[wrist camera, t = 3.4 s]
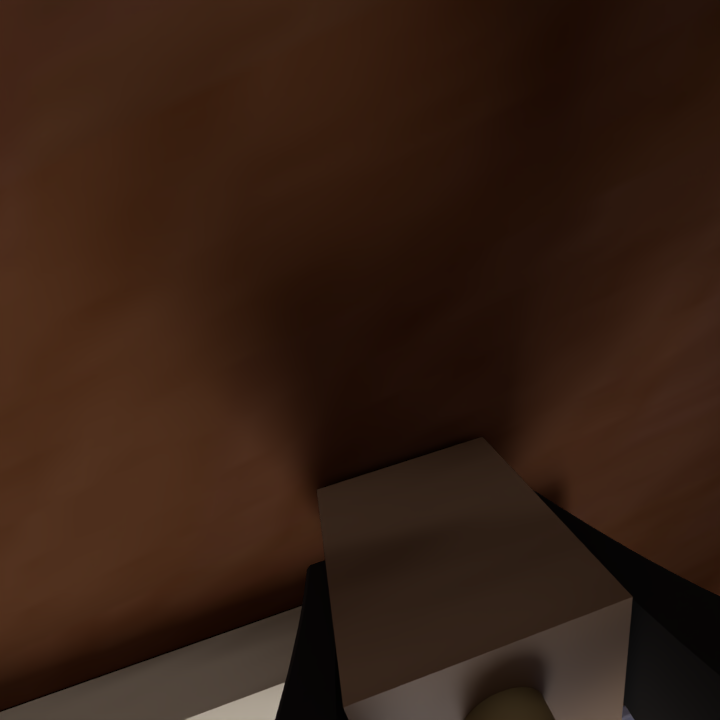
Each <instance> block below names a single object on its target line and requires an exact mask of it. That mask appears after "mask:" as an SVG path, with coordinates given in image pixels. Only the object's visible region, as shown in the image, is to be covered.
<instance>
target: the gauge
mask: <svg viewBox="0 0 720 720" xmlns="http://www.w3.org/2000/svg"><path fill="white" fill-rule="evenodd" d="M317 496H318V505H319V513H320V521H321V529H322V537H323V546H324V554H325V562H326V570H327V578H328V587H329V595H330V603H331V611H332V619H333V628H334V636H335V644H336V652H337V660H338V669H339V677H340V685H341V693H342V701H343V708H344V710H345V713H346V715H347V717H348V719H349V720H622V711H623V700H624V689H625V678H626V666H627V655H628V644H629V633H630V622H631V611H632V600H633V597H632V596H631V594H630V593H629V592H628V591H627V590H626V589H625V588H624V587H623V586H622V585H621V584H620V583H619V582H618V581H617V580H616V579H615V577H614V576H613V575H612V574H611V573H610V572H609V571H608V570H607V569H606V568H605V567H604V566H603V565H602V564H601V563H600V561H599V560H598V559H597V558H596V557H595V556H594V555H593V554H592V553H591V552H590V551H589V550H588V549H587V548H586V547H585V545H584V544H583V543H582V542H581V541H580V540H579V539H578V538H577V537H576V536H575V535H574V534H573V533H572V532H571V531H570V529H569V528H568V527H567V526H566V525H565V524H564V523H563V522H562V521H561V520H560V519H559V518H558V517H557V516H556V515H555V514H554V512H553V511H552V510H551V509H550V508H549V507H548V506H547V505H546V504H545V503H544V502H543V501H542V500H541V499H540V498H539V496H538V495H537V494H536V493H535V492H534V491H533V490H532V489H531V488H530V487H529V486H528V485H527V484H526V483H525V482H524V480H523V479H522V478H521V477H520V476H519V475H518V474H517V473H516V472H515V471H514V470H513V469H512V468H511V467H510V466H509V464H508V463H507V462H506V461H505V460H504V459H503V458H502V457H501V456H500V455H499V454H498V453H497V452H496V451H495V450H494V449H493V447H492V446H491V445H490V444H489V443H488V442H487V441H486V440H485V439H484V438H483V437H480V438H477V439H474V440H471V441H467V442H464V443H461V444H458V445H455V446H452V447H449V448H446V449H442V450H439V451H436V452H433V453H430V454H427V455H424V456H421V457H417V458H414V459H411V460H408V461H405V462H402V463H399V464H396V465H392V466H389V467H386V468H383V469H380V470H377V471H374V472H371V473H367V474H364V475H361V476H358V477H355V478H352V479H349V480H346V481H342V482H339V483H336V484H333V485H330V486H327V487H324V488H321V489H317Z"/></svg>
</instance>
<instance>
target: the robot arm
mask: <svg viewBox="0 0 720 720" xmlns="http://www.w3.org/2000/svg"><path fill="white" fill-rule="evenodd" d="M533 491H534V490H533ZM534 492H535V491H534ZM535 493H536V494H537V495H538V496H539V498H540V499H541V500H542V501H543V502H544V503H545V504H546V505H547V506H548V507H549V508H550V509H551V510H552V511H553V512H554V514H555V515H556V516H557V517H558V518H559V519H560V520H561V521H562V522H563V523H564V524H565V525H566V526H567V527H568V528H569V529H570V531H571V532H572V533H573V534H574V535H575V536H576V537H577V538H578V539H579V540H580V541H581V542H582V543H583V544H584V545H585V547H586V548H587V549H588V550H589V551H590V552H591V553H592V554H593V555H594V556H595V557H596V558H597V559H598V560H599V561H600V563H601V564H602V565H603V566H604V567H605V568H606V569H607V570H608V571H609V572H610V573H611V574H612V575H613V576H614V577H615V579H616V580H617V581H618V582H619V583H620V584H621V585H622V586H623V587H624V588H625V589H626V590H627V591H628V592H629V593H630V594H631V596H632V597H633V600H632V611H631V622H630V633H629V644H628V655H627V666H626V678H625V689H624V700H623V703H624V705H625V706H623V711H622V720H720V596H718V595H716V594H714V593H712V592H710V591H708V590H705V589H703V588H701V587H699V586H697V585H695V584H693V583H691V582H689V581H688V580H686V579H684V578H682V577H680V576H678V575H676V574H674V573H672V572H670V571H668V570H667V569H665V568H663V567H661V566H659V565H657V564H655V563H654V562H652V561H650V560H648V559H646V558H644V557H643V556H641V555H639V554H637V553H636V552H634V551H632V550H630V549H629V548H627V547H625V546H623V545H622V544H620V543H618V542H617V541H615V540H613V539H611V538H610V537H608V536H606V535H605V534H603V533H601V532H600V531H598V530H596V529H595V528H593V527H591V526H590V525H588V524H586V523H585V522H583V521H582V520H580V519H578V518H577V517H575V516H573V515H572V514H570V513H569V512H567V511H566V510H564V509H562V508H561V507H559V506H558V505H556V504H554V503H553V502H551V501H550V500H548V499H547V498H545V497H543V496H542V495H540V494H539V493H537V492H535ZM275 720H349V719H348V717H347V715H346V713H345V710H344V708H343V701H342V693H341V685H340V677H339V669H338V660H337V652H336V644H335V636H334V628H333V619H332V611H331V603H330V595H329V587H328V578H327V570H326V562H325V560H324V561H321V562H318V563H315V564H313V565H310V566H309V568H308V569H307V574H306V583H305V590H304V597H303V603H302V609H301V614H300V619H299V624H298V629H297V634H296V638H295V643H294V647H293V652H292V656H291V661H290V665H289V669H288V673H287V677H286V681H285V684H284V688H283V692H282V695H281V699H280V703H279V707H278V710H277V714H276V718H275Z"/></svg>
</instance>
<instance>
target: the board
mask: <svg viewBox="0 0 720 720" xmlns="http://www.w3.org/2000/svg"><path fill="white" fill-rule="evenodd" d="M301 609H302V606H300V607H297V608H294V609H292V610H289V611H286V612H283V613H280V614H277V615H274V616H272V617H269V618H266V619H263V620H260V621H257V622H255V623H252V624H249V625H246V626H243V627H240V628H238V629H235V630H232V631H229V632H226V633H223V634H221V635H218V636H215V637H212V638H209V639H206V640H204V641H201V642H198V643H195V644H192V645H189V646H186V647H184V648H181V649H178V650H175V651H172V652H169V653H167V654H164V655H161V656H158V657H155V658H152V659H150V660H147V661H144V662H141V663H138V664H135V665H133V666H130V667H127V668H124V669H121V670H118V671H115V672H113V673H110V674H107V675H104V676H101V677H98V678H96V679H93V680H90V681H87V682H84V683H81V684H79V685H76V686H73V687H70V688H67V689H64V690H62V691H59V692H56V693H53V694H50V695H47V696H44V697H42V698H39V699H36V700H33V701H30V702H27V703H25V704H22V705H19V706H16V707H13V708H10V709H8V710H5V711H2V712H0V720H275V718H276V714H277V710H278V707H279V703H280V699H281V695H282V692H283V688H284V684H285V681H286V677H287V673H288V669H289V665H290V661H291V656H292V652H293V647H294V643H295V638H296V634H297V629H298V624H299V619H300V614H301Z"/></svg>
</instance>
